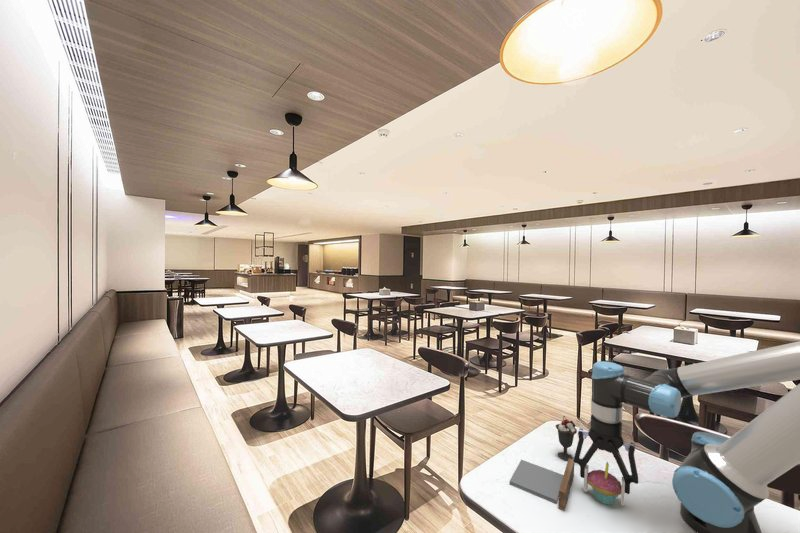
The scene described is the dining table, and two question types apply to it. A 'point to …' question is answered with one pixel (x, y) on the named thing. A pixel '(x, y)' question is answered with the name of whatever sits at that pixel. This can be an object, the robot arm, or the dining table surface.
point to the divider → (566, 484)
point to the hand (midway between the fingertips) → (603, 495)
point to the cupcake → (604, 485)
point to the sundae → (566, 437)
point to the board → (537, 480)
